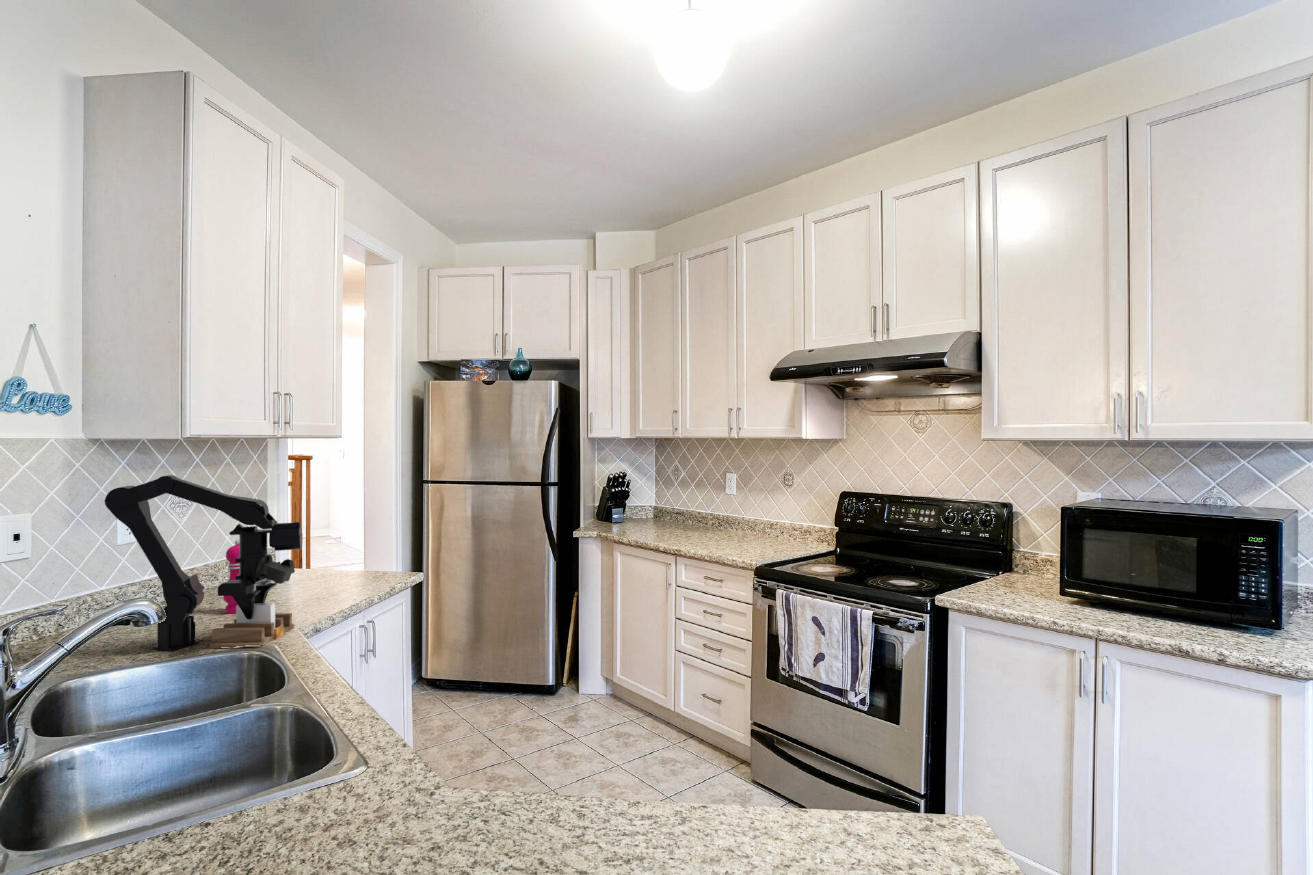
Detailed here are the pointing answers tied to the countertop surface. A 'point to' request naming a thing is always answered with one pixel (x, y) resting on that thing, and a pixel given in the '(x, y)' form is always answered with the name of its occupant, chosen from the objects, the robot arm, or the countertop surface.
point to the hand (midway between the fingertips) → (253, 616)
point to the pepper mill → (232, 574)
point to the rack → (251, 632)
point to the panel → (258, 614)
